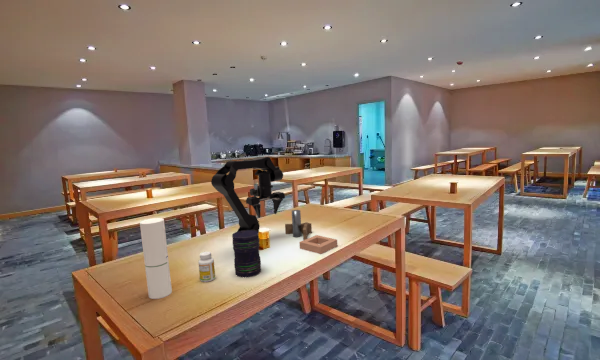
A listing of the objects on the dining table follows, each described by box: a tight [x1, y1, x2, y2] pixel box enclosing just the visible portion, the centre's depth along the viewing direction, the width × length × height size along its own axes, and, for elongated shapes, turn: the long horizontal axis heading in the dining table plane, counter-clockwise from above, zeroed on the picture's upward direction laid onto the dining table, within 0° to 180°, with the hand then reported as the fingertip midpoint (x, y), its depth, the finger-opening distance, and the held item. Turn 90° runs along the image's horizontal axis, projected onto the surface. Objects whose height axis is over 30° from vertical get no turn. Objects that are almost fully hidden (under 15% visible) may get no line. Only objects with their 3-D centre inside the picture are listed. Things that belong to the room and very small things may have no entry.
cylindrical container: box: [139, 217, 173, 300], centre depth 105 cm, size 7×7×25 cm
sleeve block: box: [299, 234, 338, 255], centre depth 143 cm, size 12×12×3 cm
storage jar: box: [231, 230, 262, 278], centre depth 119 cm, size 10×10×15 cm
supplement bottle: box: [197, 251, 216, 283], centre depth 115 cm, size 5×5×10 cm
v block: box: [284, 221, 313, 241], centre depth 163 cm, size 10×16×5 cm, turn 40°
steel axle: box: [291, 209, 303, 238], centre depth 160 cm, size 4×4×13 cm
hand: (267, 215), depth 152 cm, fingers open, 9 cm apart
